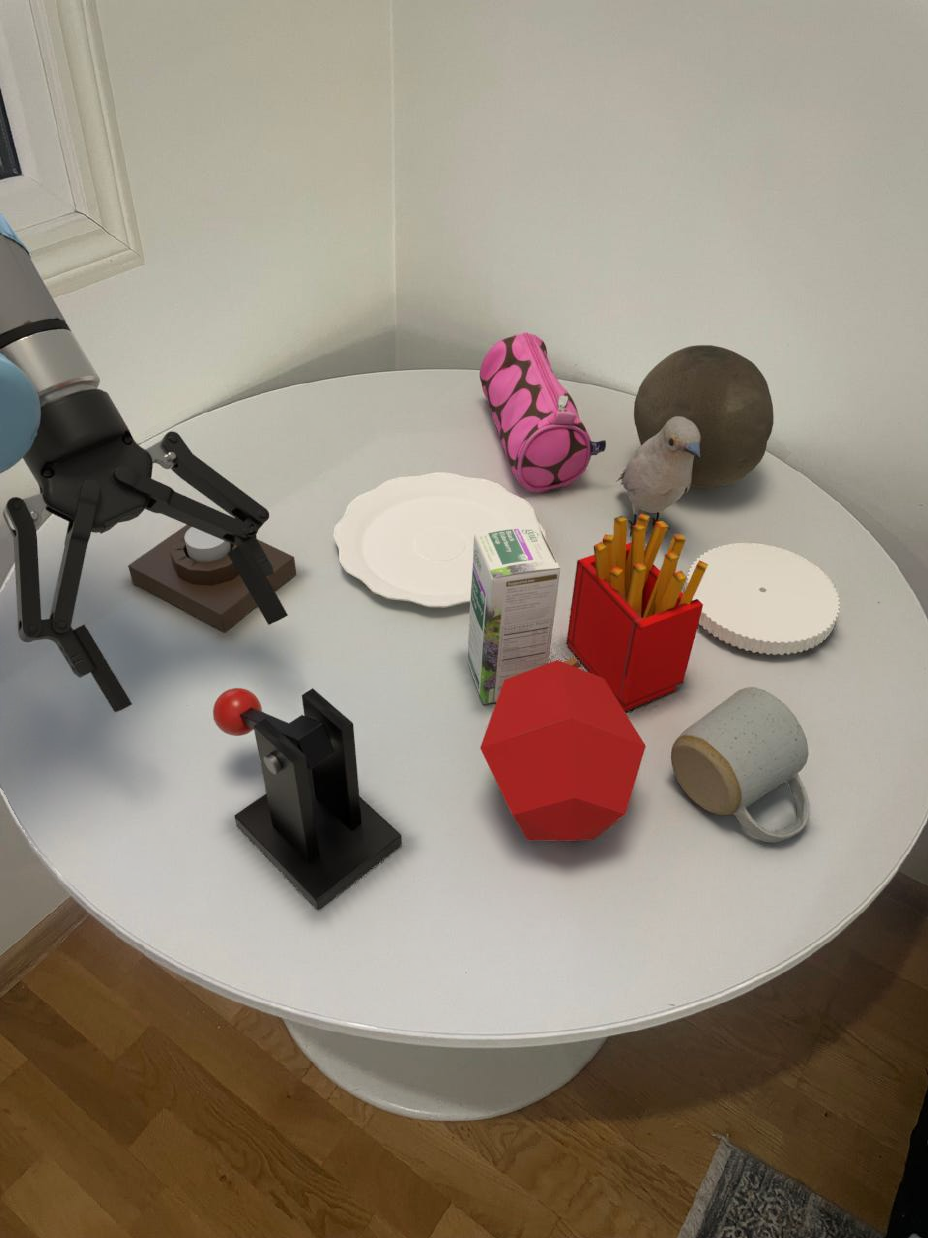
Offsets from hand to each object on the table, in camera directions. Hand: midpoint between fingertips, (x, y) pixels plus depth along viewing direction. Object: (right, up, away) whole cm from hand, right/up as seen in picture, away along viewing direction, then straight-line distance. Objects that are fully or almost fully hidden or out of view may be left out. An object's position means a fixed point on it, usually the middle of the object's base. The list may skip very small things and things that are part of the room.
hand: (204, 662), depth 75 cm
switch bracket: (+9, -13, 0) cm, 16 cm away
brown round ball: (+45, +19, +35) cm, 60 cm away
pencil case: (+27, +23, +40) cm, 53 cm away
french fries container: (+34, -1, +14) cm, 36 cm away
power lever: (+6, -6, -3) cm, 9 cm away
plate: (+17, +10, +26) cm, 33 cm away
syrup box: (+23, -2, +13) cm, 27 cm away
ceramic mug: (+42, -11, +4) cm, 43 cm away
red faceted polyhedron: (+27, -11, +3) cm, 29 cm away
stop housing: (-5, +7, +21) cm, 23 cm away
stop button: (-4, +10, +19) cm, 22 cm away
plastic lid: (+47, +4, +20) cm, 51 cm away
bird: (+38, +12, +28) cm, 49 cm away
